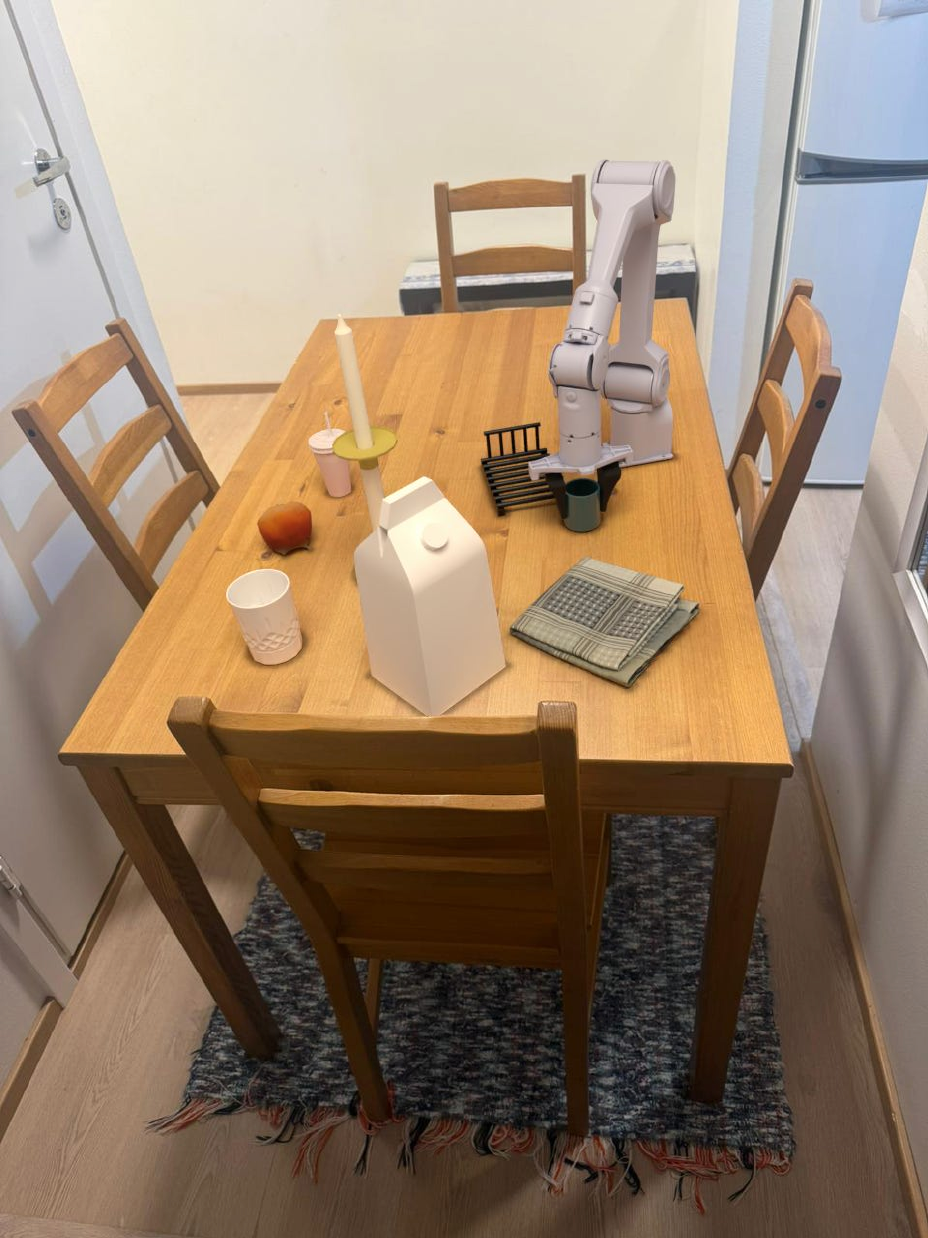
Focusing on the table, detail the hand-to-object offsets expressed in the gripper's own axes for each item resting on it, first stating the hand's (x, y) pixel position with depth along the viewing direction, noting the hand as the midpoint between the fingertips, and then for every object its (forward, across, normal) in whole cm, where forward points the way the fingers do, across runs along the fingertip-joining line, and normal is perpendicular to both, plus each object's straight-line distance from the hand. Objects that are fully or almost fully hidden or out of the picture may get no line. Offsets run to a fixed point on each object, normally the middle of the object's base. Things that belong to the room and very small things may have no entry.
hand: (581, 512), depth 128 cm
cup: (+2, 0, 0) cm, 2 cm away
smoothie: (+2, -35, +21) cm, 41 cm away
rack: (+2, -6, +13) cm, 14 cm away
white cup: (+2, -45, -16) cm, 48 cm away
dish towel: (+2, -3, -23) cm, 23 cm away
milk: (+2, -25, -26) cm, 36 cm away
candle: (+2, -29, -3) cm, 29 cm away
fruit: (+2, -43, +8) cm, 44 cm away
